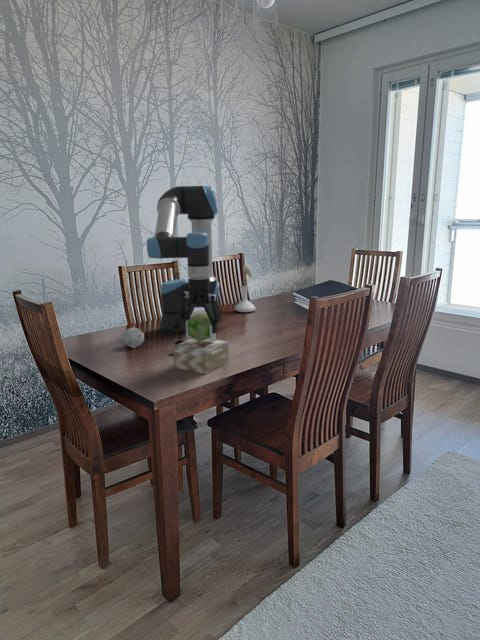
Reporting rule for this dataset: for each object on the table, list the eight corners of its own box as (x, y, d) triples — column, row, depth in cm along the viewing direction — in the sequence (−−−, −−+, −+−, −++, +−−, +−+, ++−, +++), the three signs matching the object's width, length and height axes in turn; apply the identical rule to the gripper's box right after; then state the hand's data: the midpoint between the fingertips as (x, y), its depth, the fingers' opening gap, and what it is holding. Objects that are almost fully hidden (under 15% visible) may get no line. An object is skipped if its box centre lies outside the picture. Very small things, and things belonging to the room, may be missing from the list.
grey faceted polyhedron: (122, 351, 187) (133, 334, 183) (117, 337, 193) (127, 320, 189) (139, 354, 193) (151, 338, 189) (134, 340, 198) (145, 324, 194)
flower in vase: (255, 313, 248) (255, 266, 242) (234, 313, 248) (233, 267, 242) (255, 308, 260) (255, 263, 254) (234, 308, 260) (234, 264, 254)
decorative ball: (188, 336, 171) (187, 310, 168) (215, 336, 171) (214, 309, 169) (186, 344, 161) (185, 316, 159) (215, 343, 162) (214, 315, 159)
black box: (181, 359, 176) (180, 347, 175) (163, 357, 179) (162, 345, 178) (197, 350, 188) (196, 338, 187) (180, 348, 191) (179, 336, 190)
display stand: (174, 367, 166) (173, 346, 164) (197, 356, 178) (197, 336, 176) (206, 374, 159) (205, 352, 157) (228, 362, 170) (228, 341, 168)
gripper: (166, 277, 163) (170, 338, 169) (219, 281, 152) (221, 347, 157) (180, 274, 169) (182, 333, 175) (231, 278, 158) (232, 341, 163)
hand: (200, 339), depth 166 cm, fingers closed on decorative ball, 10 cm apart
